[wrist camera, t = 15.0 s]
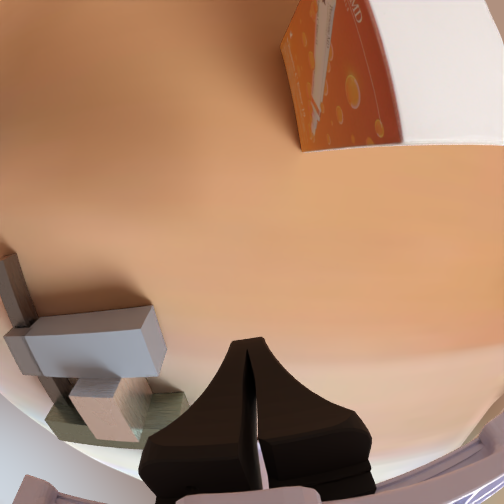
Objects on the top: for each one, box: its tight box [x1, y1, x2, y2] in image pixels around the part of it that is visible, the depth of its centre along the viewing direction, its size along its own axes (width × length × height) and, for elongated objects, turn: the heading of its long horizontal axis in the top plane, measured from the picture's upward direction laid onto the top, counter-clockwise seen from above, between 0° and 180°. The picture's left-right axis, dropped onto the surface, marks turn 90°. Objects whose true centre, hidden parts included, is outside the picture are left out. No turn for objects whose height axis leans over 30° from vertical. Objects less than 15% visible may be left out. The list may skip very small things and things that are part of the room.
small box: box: [280, 0, 504, 153], centre depth 12 cm, size 8×6×13 cm
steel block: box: [69, 377, 153, 442], centre depth 20 cm, size 5×4×6 cm
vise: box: [0, 253, 190, 449], centre depth 20 cm, size 18×14×4 cm
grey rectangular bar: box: [3, 305, 167, 378], centre depth 20 cm, size 4×14×4 cm, turn 99°
